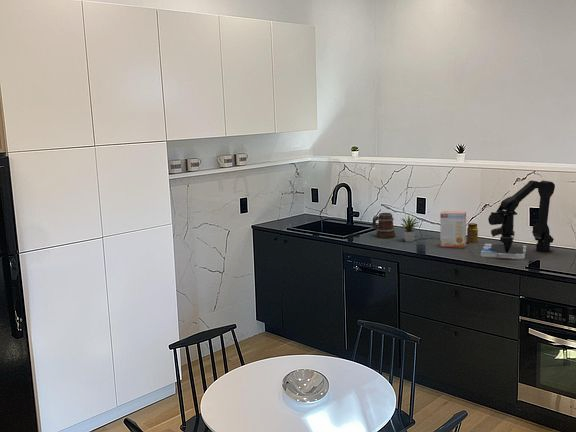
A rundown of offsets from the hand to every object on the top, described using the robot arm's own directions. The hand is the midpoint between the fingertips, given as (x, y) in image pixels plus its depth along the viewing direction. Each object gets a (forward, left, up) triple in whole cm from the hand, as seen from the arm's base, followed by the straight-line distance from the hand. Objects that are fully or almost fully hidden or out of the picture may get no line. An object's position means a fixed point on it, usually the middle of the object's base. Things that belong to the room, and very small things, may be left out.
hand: (507, 251), depth 323 cm
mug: (+78, -35, -3) cm, 86 cm away
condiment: (+22, -27, -3) cm, 35 cm away
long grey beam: (0, 0, -1) cm, 1 cm away
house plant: (+59, -25, -3) cm, 64 cm away
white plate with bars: (+2, -5, -3) cm, 6 cm away
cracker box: (+31, -17, -3) cm, 35 cm away
